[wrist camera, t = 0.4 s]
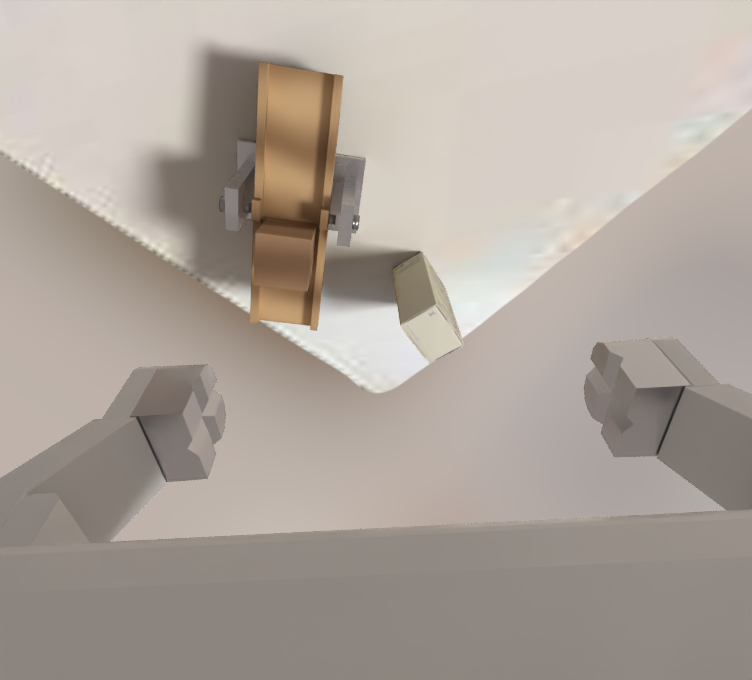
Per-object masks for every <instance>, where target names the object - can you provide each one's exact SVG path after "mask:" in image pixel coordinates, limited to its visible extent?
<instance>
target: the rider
mask: <svg viewBox="0 0 752 680" xmlns="http://www.w3.org/2000/svg"><path fill="white" fill-rule="evenodd" d="M316 226H317V224H315V223H307V222H300V221H293V220H285V219H278V218H271V217H267V218H266V219H265V220H264V222H263V223H262V224H261V226H260V227H259V228H258V230H257V231H256V233H255V261H254V285H258V286H266V287H274V288H282V289H291V290H299V291H307V290H308V286H309V282H310V278H311V274H312V269H313V259H314V248H315V237H316Z"/></svg>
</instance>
